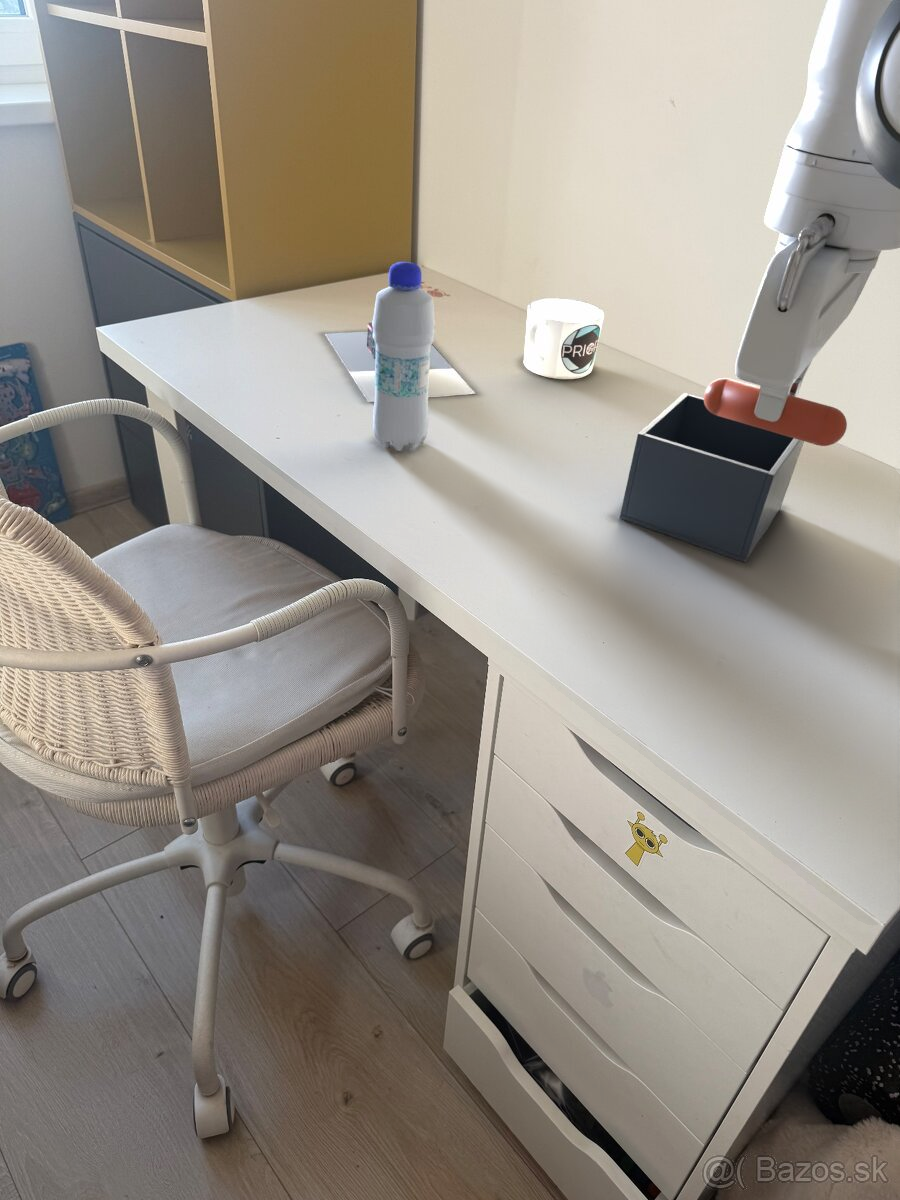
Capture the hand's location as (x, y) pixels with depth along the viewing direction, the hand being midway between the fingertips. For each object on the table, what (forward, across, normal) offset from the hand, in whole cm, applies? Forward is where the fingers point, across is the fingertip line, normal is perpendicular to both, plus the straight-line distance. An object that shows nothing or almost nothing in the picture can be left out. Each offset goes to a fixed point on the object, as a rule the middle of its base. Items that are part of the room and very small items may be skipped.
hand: (775, 407), depth 61 cm
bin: (+20, +17, +6) cm, 27 cm away
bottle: (+20, +11, +40) cm, 46 cm away
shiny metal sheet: (+20, +31, +55) cm, 66 cm away
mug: (+20, +44, +37) cm, 61 cm away
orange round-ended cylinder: (+2, 0, 0) cm, 2 cm away
